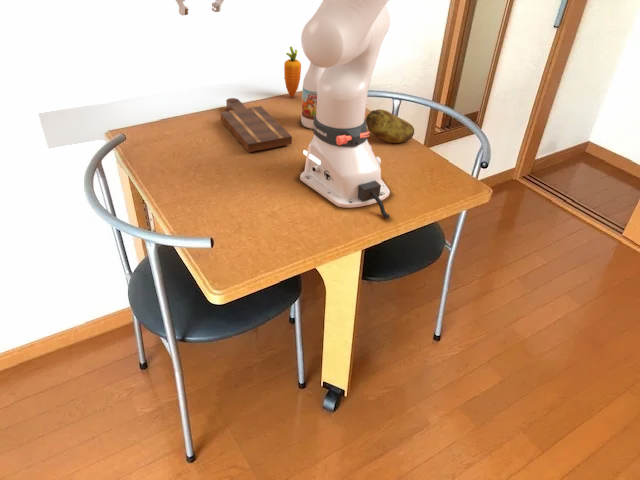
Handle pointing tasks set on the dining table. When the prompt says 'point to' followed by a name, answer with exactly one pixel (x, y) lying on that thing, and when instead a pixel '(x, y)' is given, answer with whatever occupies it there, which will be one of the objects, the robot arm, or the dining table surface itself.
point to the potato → (389, 126)
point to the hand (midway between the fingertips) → (200, 12)
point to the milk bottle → (310, 94)
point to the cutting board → (254, 127)
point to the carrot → (292, 73)
